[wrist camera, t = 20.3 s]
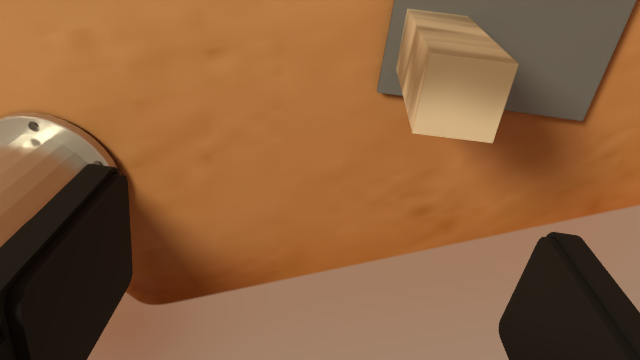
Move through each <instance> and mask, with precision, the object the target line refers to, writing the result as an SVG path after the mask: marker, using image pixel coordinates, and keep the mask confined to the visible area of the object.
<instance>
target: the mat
mask: <svg viewBox="0 0 640 360" xmlns="http://www.w3.org/2000/svg"><path fill="white" fill-rule="evenodd" d="M635 3H636V0H394V5H393V10H392V15H391V20H390V26H389V31H388V36H387V41H386V46H385V51H384V57H383V62H382V67H381V72H380V77H379V83H378V88H377V92H378V93H386V94H393V95H400V96H403V94H402V90H401V86H400V82H399V78H398V74H397V70H396V65H397V60H398V55H399V50H400V45H401V39H402V34H403V29H404V24H405V19H406V14H407V9H415V10H423V11H431V12H439V13H447V14H455V15H463V16H468V17H469V18H470V19H472V20H473V21H474V22H475V23H476V24H477V25H478V26H479V27H480V28H481V29H482V30H483V31H484V32H485V33H486V34H487V35H489V36H490V37H491V38H492V39H493V40H494V41H495V42H496V43H497V44H498V45H499V46H500V47H501V48H502V49H503V50H504V51H506V52H507V53H508V54H509V55H510V56H511V57H512V58H513V59H514V60H515V61H516V62H517V63H518V64H519V65H518V68H517V71H516V74H515V77H514V80H513V83H512V86H511V89H510V92H509V95H508V98H507V101H506V104H505V107H504V110H506V111H514V112H521V113H528V114H535V115H542V116H549V117H556V118H563V119H570V120H578V121H583V119H584V117H585V115H586V113H587V110H588V108H589V106H590V104H591V101H592V99H593V97H594V95H595V92H596V90H597V88H598V86H599V84H600V81H601V79H602V77H603V75H604V72H605V70H606V68H607V66H608V63H609V61H610V59H611V57H612V54H613V52H614V50H615V48H616V45H617V43H618V41H619V39H620V36H621V34H622V32H623V30H624V27H625V25H626V23H627V21H628V18H629V16H630V14H631V12H632V9H633V7H634V5H635Z"/></svg>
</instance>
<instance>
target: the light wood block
mask: <svg viewBox="0 0 640 360" xmlns="http://www.w3.org/2000/svg"><path fill="white" fill-rule="evenodd" d="M518 65H519V64H518V63H517V62H516V61H515V60H514V59H513V58H512V57H511V56H510V55H509V54H508V53H507V52H506V51H504V50H503V49H502V48H501V47H500V46H499V45H498V44H497V43H496V42H495V41H494V40H493V39H492V38H491V37H490V36H489V35H487V34H486V33H485V32H484V31H483V30H482V29H481V28H480V27H479V26H478V25H477V24H476V23H475V22H474V21H473V20H472V19H470V18H469V17H468V16H463V15H455V14H447V13H439V12H431V11H423V10H415V9H407V14H406V19H405V24H404V29H403V34H402V39H401V45H400V50H399V55H398V60H397V65H396V70H397V74H398V78H399V82H400V86H401V90H402V94H403V98H404V102H405V106H406V109H407V113H408V117H409V121H410V125H411V129H412V133H415V134H423V135H431V136H439V137H447V138H455V139H463V140H471V141H479V142H487V143H493V141H494V138H495V135H496V132H497V128H498V125H499V122H500V119H501V116H502V113H503V110H504V107H505V104H506V101H507V98H508V95H509V92H510V89H511V86H512V83H513V80H514V77H515V74H516V71H517V68H518Z"/></svg>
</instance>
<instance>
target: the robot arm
mask: <svg viewBox="0 0 640 360" xmlns="http://www.w3.org/2000/svg"><path fill="white" fill-rule="evenodd" d="M131 278H132V251H131V234H130V216H129V198H128V182H127V177H126V176H125V175H121V174H120V172H119V170H118V168H117V166H116V164H115V162H114V160H113V159H112V158H111V157H110V155H109V154H108V153H107V151H106V150H105V149H104V148H103V147H102V146H101V145H100V144H99V143H98V142H97V141H96V140H95V139H94V138H93V137H91V136H90V135H89V134H87V133H86V132H85V131H83V130H82V129H80V128H79V127H77V126H75V125H73V124H71V123H69V122H67V121H65V120H62V119H60V118H57V117H54V116H51V115H46V114H41V113H35V112H20V113H15V114H10V115H6V116H4V117H2V118H0V360H87V358H88V356H89V355H90V353H91V351H92V349H93V348H94V346H95V344H96V342H97V341H98V339H99V337H100V335H101V334H102V332H103V330H104V328H105V327H106V325H107V323H108V321H109V320H110V318H111V316H112V314H113V312H114V311H115V309H116V307H117V305H118V304H119V302H120V300H121V298H122V296H123V295H124V293H125V292H126V290H127V288H128V286H129V284H130V281H131ZM499 335H500V338H501V341H502V343H503V346H504V348H505V351H506V353H507V356H508V358H509V360H640V313H639V311H638V310H637V309H636V307H635V306H634V305H633V304H632V302H631V301H630V300H629V298H628V297H627V296H626V295H625V293H624V292H623V291H622V289H621V288H620V287H619V286H618V284H617V283H616V282H615V280H614V279H613V278H612V277H611V275H610V274H609V273H608V271H607V270H606V269H605V268H604V266H603V265H602V264H601V263H600V261H599V260H598V259H597V257H596V256H595V255H594V253H593V252H592V251H591V250H590V248H589V247H588V246H587V245H586V243H585V242H584V241H583V239H582V238H581V237H579V236H576V235H570V234H564V233H556V232H551V233H549V234H548V235H547V236H546V237H542V238H540V239H539V241H538V242H537V245H536V246H535V249H534V250H533V253H532V255H531V257H530V259H529V261H528V263H527V265H526V267H525V269H524V272H523V274H522V276H521V278H520V280H519V282H518V284H517V286H516V289H515V290H514V293H513V294H512V297H511V299H510V301H509V303H508V305H507V307H506V309H505V311H504V313H503V315H502V318H501V320H500V323H499Z"/></svg>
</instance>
